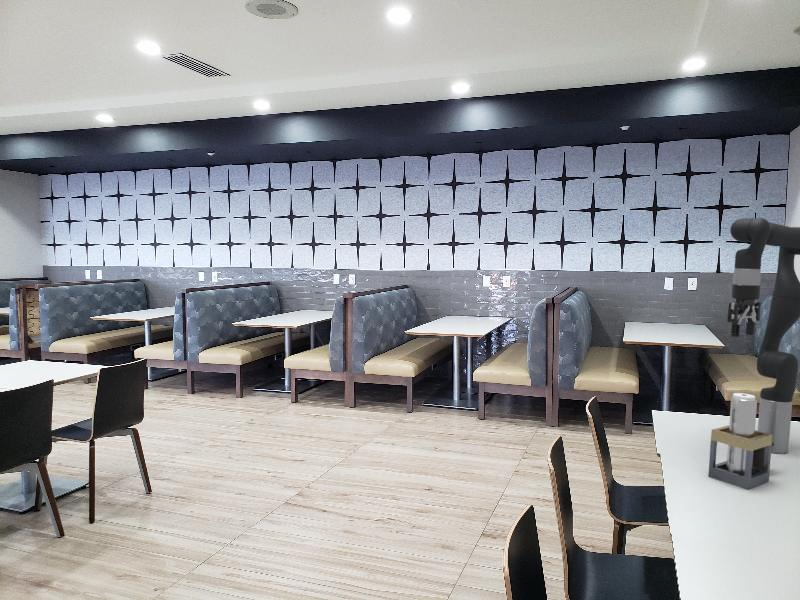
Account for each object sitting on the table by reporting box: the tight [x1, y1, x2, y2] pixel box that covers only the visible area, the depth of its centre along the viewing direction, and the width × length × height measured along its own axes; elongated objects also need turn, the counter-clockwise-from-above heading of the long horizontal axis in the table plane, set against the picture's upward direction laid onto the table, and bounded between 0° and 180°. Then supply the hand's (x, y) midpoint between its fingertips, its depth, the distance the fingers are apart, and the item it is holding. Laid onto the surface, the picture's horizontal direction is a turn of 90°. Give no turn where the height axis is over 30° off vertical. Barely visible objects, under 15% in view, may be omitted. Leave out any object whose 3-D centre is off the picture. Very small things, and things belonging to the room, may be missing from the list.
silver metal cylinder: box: [726, 392, 758, 476], centre depth 177 cm, size 6×6×25 cm
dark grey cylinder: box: [752, 442, 774, 470], centre depth 186 cm, size 8×8×10 cm
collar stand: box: [708, 425, 772, 490], centre depth 178 cm, size 11×11×14 cm
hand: (742, 335), depth 190 cm, fingers open, 8 cm apart
